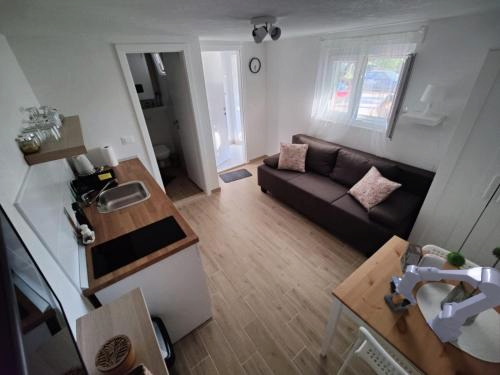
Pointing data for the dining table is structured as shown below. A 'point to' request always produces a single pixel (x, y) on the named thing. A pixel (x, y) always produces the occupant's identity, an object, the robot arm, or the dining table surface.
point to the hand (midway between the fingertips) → (398, 299)
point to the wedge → (397, 299)
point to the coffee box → (411, 256)
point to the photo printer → (432, 261)
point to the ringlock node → (390, 296)
